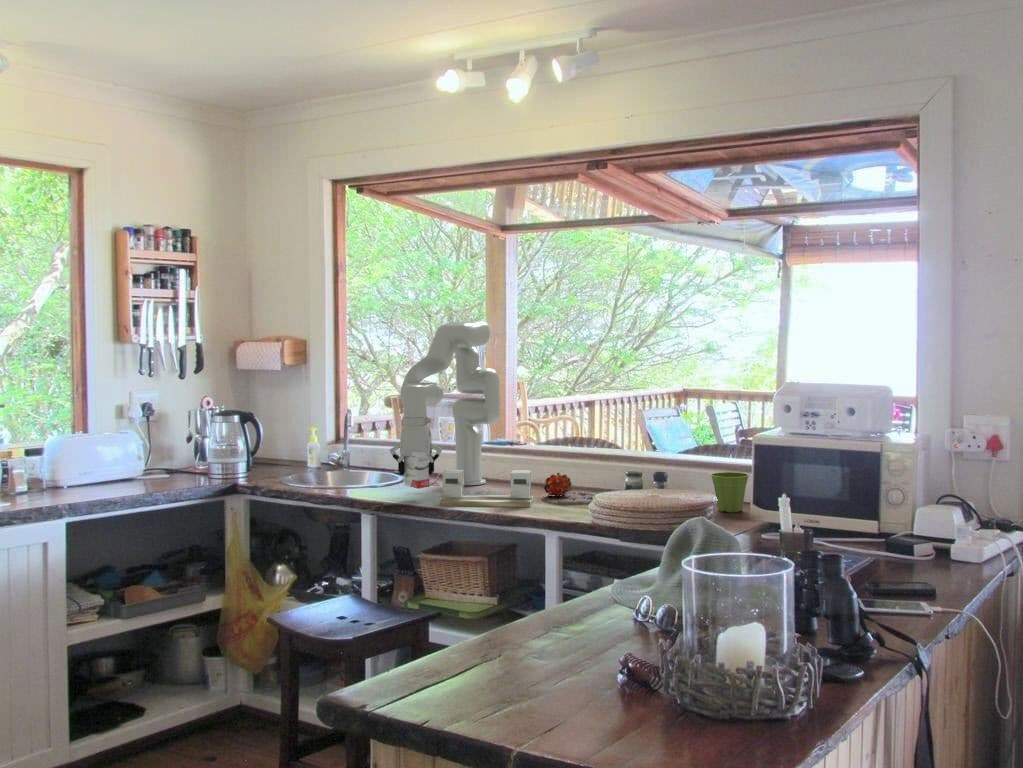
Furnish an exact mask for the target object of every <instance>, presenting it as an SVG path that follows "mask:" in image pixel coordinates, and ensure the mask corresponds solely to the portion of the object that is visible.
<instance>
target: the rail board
mask: <svg viewBox="0 0 1023 768" xmlns="http://www.w3.org/2000/svg"><path fill="white" fill-rule="evenodd" d="M531 474H532V471H531V470H511V472H510V494H509V495H507V494H505V495H501V494H500V495H496V494H495V495H494V494H492V495H491V494H490V495H489V494H488V495H487V494H465V485H464V470H456V469H444V471H442V479H441V480H442V496H441V499H440V500H439V507H441V506H442V507H503V508H504V507H505V508H506V507H510V508H511V507H516V508H517V507H518V508H520V507H521V508H522V507H523V508H525V507H527V508H530V507H532V504H533V502H534V496H533V495H532V485H531V484H532V475H531Z"/></svg>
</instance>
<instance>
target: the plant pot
mask: <svg viewBox="0 0 1023 768" xmlns="http://www.w3.org/2000/svg"><path fill="white" fill-rule="evenodd" d="M709 475H710V477H711V480H712V484H713V487H714V492H715V498H716V497H717V499H718V501H717V500H716V504H717V510H718V511H719V512H726V513H739V512H742V511H743V507H744V502H745V495H746V494H745V493H746V489H747V484H748V479H749V477H750V473H746V472H740V471H739V472H738V471H737V472H736V471H723V472H714V473H710V474H709Z"/></svg>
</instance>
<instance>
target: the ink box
mask: <svg viewBox="0 0 1023 768" xmlns="http://www.w3.org/2000/svg"><path fill="white" fill-rule="evenodd" d="M403 462H404V474H403V485H404V486H405V487H410V488H414V489H417V490H418V489H425V488H429V487H430V475H429V462H430V461H429V460H428V456H426V453H425V452H412V453H411V456H410V457H404V459H403Z"/></svg>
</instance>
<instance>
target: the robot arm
mask: <svg viewBox="0 0 1023 768" xmlns="http://www.w3.org/2000/svg"><path fill="white" fill-rule="evenodd" d="M490 337H491V328H490V326H489V324H488V323H487V322H485V321H482V320H481V321H480V320H477V321H474V320H473V321H472V320H471V321H469V320H467V321H465V320H462V321H451V322H450V321H449V322H446V323H445V324H442V325H440V326H438V327H437V330H436V332H435V333H434V336H433V339H432V340H431V341H432V342H431V344H430V346H429V349H428V351H427V354H426V356H424V357H423V358H422V359H420V360H419V361H418V362H417V363H414V365H413V366H412V367H411V368H410V369H409V370H408V371H407V373H406V374H405V377H404V380H403V382H402V384H401V388H400V398H401V399H400V400H402V403H403V407H402V408H403V410H402V411H403V426H401V430H400V439H399V443H398V444H397V445H395V446H392V447H391V448H389V452H390V454H391V455H392V458H393V459H394V460H395V461H396V462H397V464H398V466H397V467H398V472H399V474H400V475H404V457H410V456H411V453H412V452H425V453H426V456H428V460H429V476H431V475H433V472H435V461H436V460H438V458H439V457H440V456H441V453H442V452H443V448H442V447H439V446H438V445H436V444H434V443H433V441H432V434H431V433H432V432H431V428H430V426H429V425H428V424H429V423H432V418H429V417H428V416H427V414H428V413H427V406H434V405H438V404H440V402H442V400H443V398H444V389H443V387H442V386H441V385H440V384H438V383H437V382H423V380H424V379H426V378H427V377H430V376H433V375H436V374H438V373H440V372H443V371H445V370H447V369H449V366H450V365H451V362H452V359H453V357H454V354H455V364H456V365H455V366H456V367H455V368H456V370H455V371H456V372H455V373H456V374H455V375H456V376H455V377H456V389H457V391H458V392H459V393H460V394H466V395H467V394H468V395H483V396H484V397H460V398H458V399H457V400H455V401H454V402H453V404H452V417H453V423H454V432H455V470H464V486H479V485H480V486H481V485H484V484H487V481H486V479H484V478H483V477H482V472H483V471H482V470H483V469H482V434H481V431H480V429H479V428H478V426H477V425H494V424H495V423H497V422H499V418H500V413H501V397H500V396H501V394H500V393H501V392H500V391H501V387H500V385H501V384H500V383H501V382H500V378H499V374H498V373H497V371H496V370H495V369H493V368H488V367H485V368H483V367H481V366H480V354H479V351H478V349H477V347H481V346H485V345H486V344H487V343H488V342H489V340H490ZM398 450H399V453H400V456H399V455H398V454H397V452H396V451H398ZM433 450H435V451H436V453H435V454H434V456H433V455H432V453H433Z"/></svg>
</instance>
